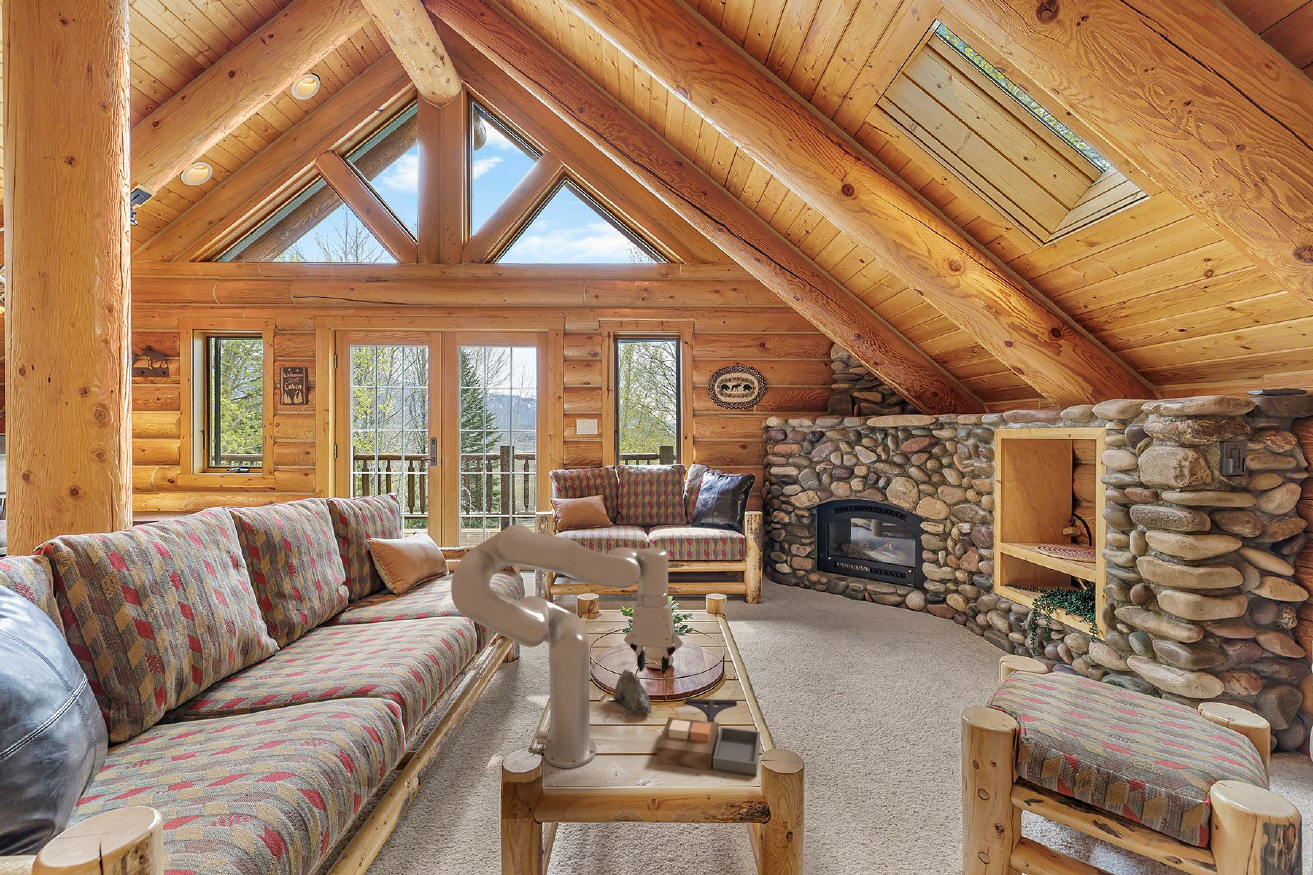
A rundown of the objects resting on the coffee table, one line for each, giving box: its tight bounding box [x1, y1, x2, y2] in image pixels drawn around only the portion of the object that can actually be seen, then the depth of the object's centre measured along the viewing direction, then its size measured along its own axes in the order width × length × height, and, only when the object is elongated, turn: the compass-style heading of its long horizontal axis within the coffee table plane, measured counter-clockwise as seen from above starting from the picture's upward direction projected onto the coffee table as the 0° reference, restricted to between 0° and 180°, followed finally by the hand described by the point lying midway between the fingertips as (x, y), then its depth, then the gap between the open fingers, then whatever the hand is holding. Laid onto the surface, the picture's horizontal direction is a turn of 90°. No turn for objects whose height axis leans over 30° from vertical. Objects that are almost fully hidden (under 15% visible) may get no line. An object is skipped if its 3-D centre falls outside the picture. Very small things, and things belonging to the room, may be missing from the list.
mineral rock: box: [613, 669, 653, 714], centre depth 171 cm, size 13×11×10 cm
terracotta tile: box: [690, 722, 711, 742], centre depth 149 cm, size 4×4×2 cm
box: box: [712, 726, 761, 777], centre depth 148 cm, size 10×14×3 cm
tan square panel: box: [656, 716, 720, 771], centre depth 150 cm, size 13×14×4 cm
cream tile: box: [669, 720, 690, 739], centre depth 151 cm, size 4×4×2 cm
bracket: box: [685, 698, 738, 722], centre depth 167 cm, size 14×15×3 cm
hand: (653, 669), depth 151 cm, fingers open, 5 cm apart
